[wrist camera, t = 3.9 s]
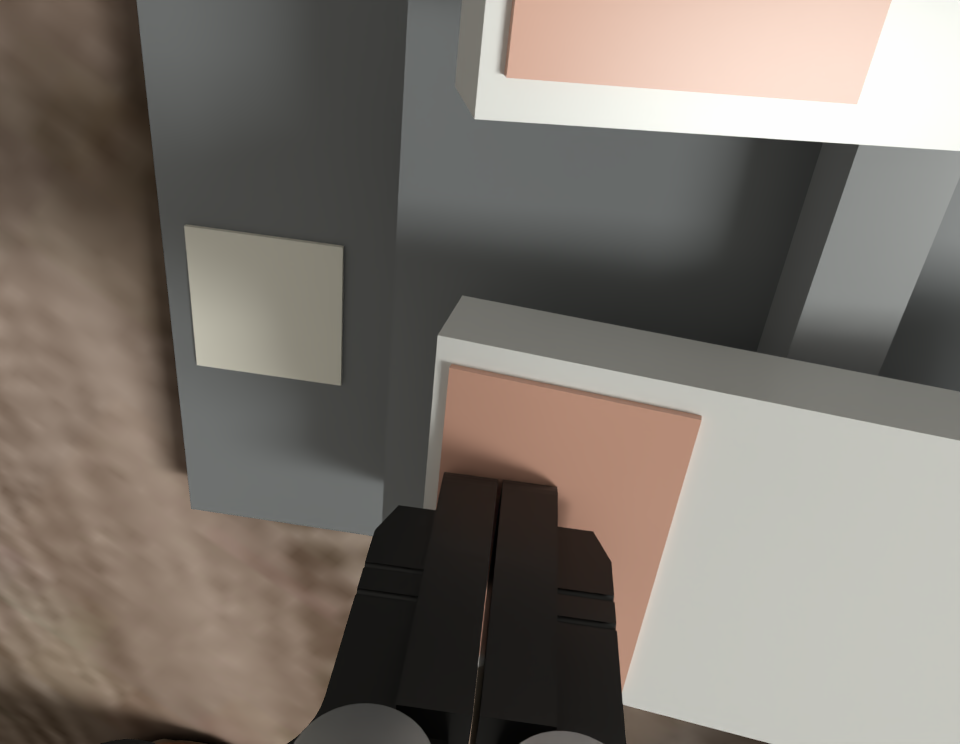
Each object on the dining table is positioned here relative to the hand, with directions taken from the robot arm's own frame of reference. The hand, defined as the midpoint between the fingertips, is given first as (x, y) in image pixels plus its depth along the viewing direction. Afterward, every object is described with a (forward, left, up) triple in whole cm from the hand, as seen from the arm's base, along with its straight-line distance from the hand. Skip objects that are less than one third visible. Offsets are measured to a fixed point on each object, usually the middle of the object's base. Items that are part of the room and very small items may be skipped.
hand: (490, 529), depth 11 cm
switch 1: (-4, 0, 0) cm, 4 cm away
